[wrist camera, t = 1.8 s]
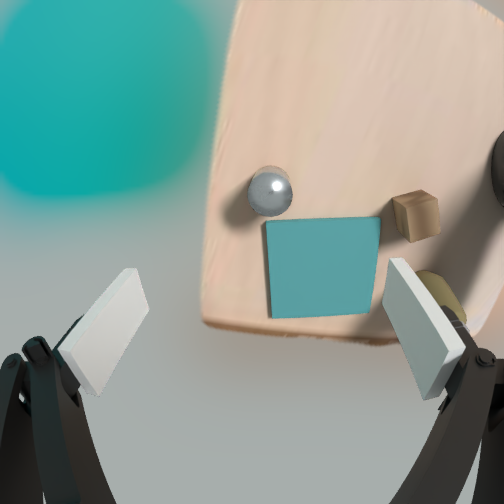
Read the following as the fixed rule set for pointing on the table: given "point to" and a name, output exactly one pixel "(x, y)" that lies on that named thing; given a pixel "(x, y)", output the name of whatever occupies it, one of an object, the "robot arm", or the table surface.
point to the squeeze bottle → (442, 293)
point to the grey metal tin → (270, 191)
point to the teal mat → (322, 265)
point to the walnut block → (417, 215)
